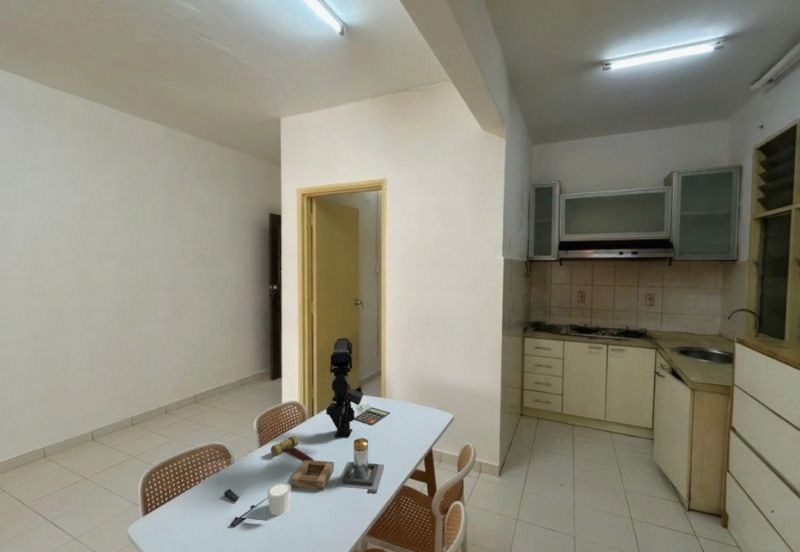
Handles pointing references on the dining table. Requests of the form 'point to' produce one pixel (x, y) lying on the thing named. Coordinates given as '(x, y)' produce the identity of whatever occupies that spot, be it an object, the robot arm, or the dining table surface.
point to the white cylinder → (279, 498)
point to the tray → (368, 483)
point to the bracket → (234, 498)
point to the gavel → (289, 448)
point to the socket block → (313, 475)
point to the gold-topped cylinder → (361, 458)
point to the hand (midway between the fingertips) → (341, 422)
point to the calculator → (371, 416)
